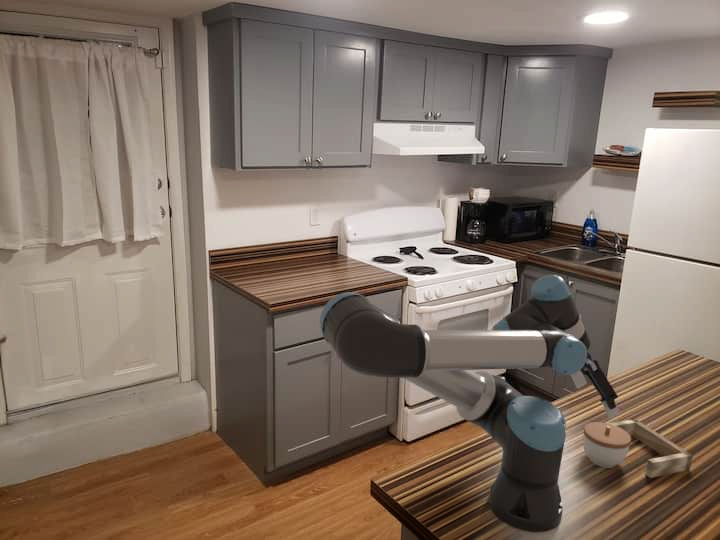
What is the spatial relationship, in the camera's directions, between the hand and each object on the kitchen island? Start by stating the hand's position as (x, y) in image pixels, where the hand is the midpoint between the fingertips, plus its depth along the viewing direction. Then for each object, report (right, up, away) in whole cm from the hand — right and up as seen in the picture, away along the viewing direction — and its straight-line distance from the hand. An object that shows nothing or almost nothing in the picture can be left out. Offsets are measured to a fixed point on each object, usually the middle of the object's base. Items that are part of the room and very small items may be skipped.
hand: (597, 400), depth 138 cm
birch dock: (+13, -15, +6) cm, 21 cm away
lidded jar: (+2, -16, +2) cm, 16 cm away
